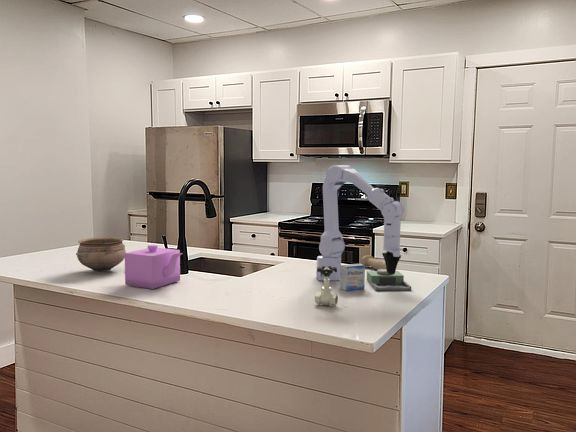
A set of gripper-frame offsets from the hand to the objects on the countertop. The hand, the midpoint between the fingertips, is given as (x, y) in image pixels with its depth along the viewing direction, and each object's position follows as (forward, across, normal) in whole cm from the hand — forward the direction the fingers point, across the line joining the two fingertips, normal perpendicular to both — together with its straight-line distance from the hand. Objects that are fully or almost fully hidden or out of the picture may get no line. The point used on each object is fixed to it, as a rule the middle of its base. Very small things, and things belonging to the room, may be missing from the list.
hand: (390, 273), depth 183 cm
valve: (+6, -22, +26) cm, 34 cm away
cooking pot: (+6, +34, +112) cm, 117 cm away
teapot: (+6, +11, +85) cm, 86 cm away
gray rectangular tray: (+5, 0, 0) cm, 5 cm away
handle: (+4, +25, -6) cm, 26 cm away
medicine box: (+6, -1, +14) cm, 15 cm away
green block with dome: (+5, +8, 0) cm, 10 cm away
